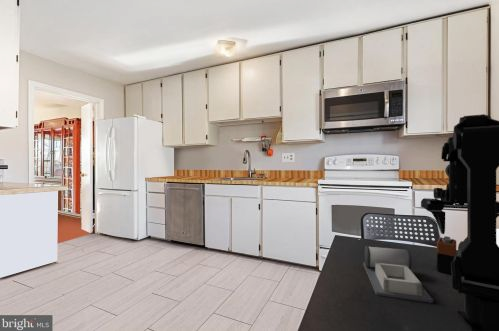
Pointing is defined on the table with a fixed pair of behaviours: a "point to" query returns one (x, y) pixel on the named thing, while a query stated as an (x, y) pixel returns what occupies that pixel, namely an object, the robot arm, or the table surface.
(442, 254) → the battery
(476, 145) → the robot arm
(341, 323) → the table surface
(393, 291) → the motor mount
